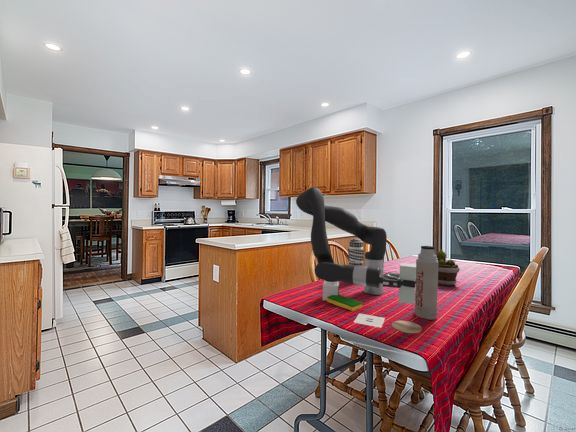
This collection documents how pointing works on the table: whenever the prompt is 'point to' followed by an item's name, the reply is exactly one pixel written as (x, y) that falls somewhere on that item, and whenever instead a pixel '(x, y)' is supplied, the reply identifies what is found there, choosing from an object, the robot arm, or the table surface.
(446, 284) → the flowerpot
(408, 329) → the cork coaster
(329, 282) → the medicine bottle
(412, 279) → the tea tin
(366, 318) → the tile
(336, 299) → the dish sponge
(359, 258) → the decorative candle
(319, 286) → the table surface
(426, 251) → the thermos bottle
